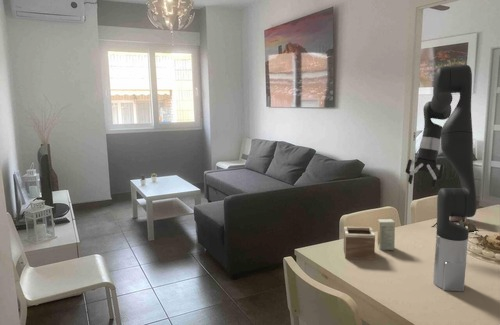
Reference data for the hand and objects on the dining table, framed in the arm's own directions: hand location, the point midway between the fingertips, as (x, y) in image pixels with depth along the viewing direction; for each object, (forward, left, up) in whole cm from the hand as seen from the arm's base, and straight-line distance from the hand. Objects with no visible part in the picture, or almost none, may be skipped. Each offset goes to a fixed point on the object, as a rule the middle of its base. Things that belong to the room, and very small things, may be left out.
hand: (421, 186), depth 157 cm
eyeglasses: (+17, -20, -26) cm, 37 cm away
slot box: (-16, +27, -25) cm, 40 cm away
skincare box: (-8, +15, -26) cm, 31 cm away
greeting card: (+32, -30, -26) cm, 51 cm away
